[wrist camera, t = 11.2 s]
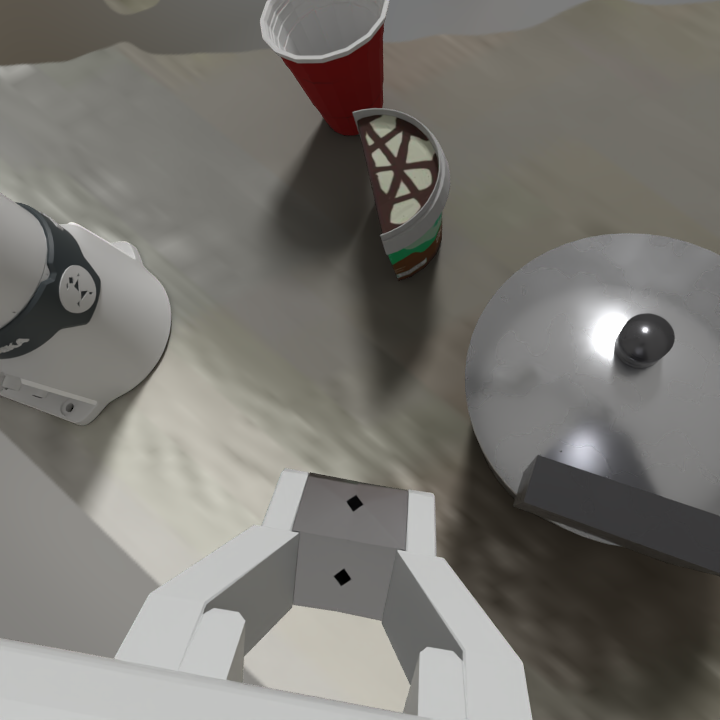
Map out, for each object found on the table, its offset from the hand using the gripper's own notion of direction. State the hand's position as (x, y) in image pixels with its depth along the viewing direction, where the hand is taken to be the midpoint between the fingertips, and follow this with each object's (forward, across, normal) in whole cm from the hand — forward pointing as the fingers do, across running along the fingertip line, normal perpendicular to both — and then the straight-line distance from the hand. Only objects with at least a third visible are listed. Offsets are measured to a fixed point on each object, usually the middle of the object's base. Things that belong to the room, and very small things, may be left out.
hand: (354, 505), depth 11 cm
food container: (+42, -2, +4) cm, 42 cm away
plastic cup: (+52, +6, -4) cm, 52 cm away
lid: (+21, -14, +7) cm, 27 cm away
